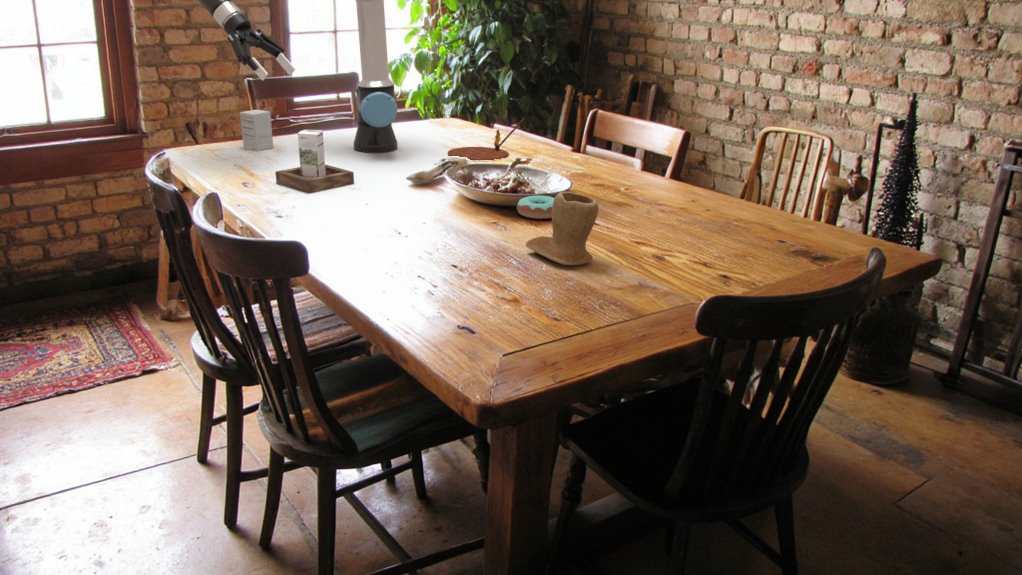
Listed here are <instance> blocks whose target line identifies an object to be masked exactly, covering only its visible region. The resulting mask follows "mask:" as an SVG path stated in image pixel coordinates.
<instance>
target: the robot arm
mask: <svg viewBox="0 0 1022 575" xmlns="http://www.w3.org/2000/svg"><path fill="white" fill-rule="evenodd" d="M198 2H199V3H200V4H201V5H202V6H203V7H204V10H206V12H208V13H209V14H210V15H211V17H213V19H214V20H215V21H216V23H218V25H219V26H220V27H221V28H223V30H224V32H225V33H226V34H227V35H228V36H227V41H228V42H229V43H230V45H231V47H232V50H233V52H234V54H235V57H236V59H237V61H238V62H239V63H241V64H242V65H243V66H246V65H247V66H248V67H249V68H250V69H251V70H252V72H254V74H256V75H257V77H258V78H259V79H260V80H261V81H265V80H266V78H267V77H268V75H269V73H268V72H267V71H266V69H265V68H264V67H263V66H262V64H260V63H259V61H258V60H257V59H256V58H255V57H252V54H251V47H255V48H256V49H261V50H263V51H265V52H266V53H268V54H270V55H272V56H273V57H274V58H275V60H276V61H277V62H278V64H279V65H280V66H281V67H282V69H283V70H284V71H285V72H286V73H287V74H288V75H289V76H291V75H293V73H294V72H295V71H296V68H295V66H294V64H292V63H291V62H290V60H289V59H288V58H287V57H286V56H285V55H284V53H285V48H284V47H283V46H281V45H280V44H278V43H277V42H276V41H275V40H273V39H272V38H271V37H270V36H268V35H267V34H265V33H264V32H263V30H261V29H260V28H258V29H257V30H256V31H254V29H252V28H251V25H252V24H251V21H250V20H249V19H248V17H247V16H245V14H244V13H242V11H241V10H240V8H239V7H238V6H237V5H236V4H235V3H234V2H233V1H232V0H198ZM355 2H356V4H355V6H356V18H357V29H358V41H359V54H360V68H361V80H360V81H358V82H357V83H356V85H355V96H356V113H357V114H356V115H357V116H356V118H357V128H356V129H357V130H356V133H355V137H354V140H353V150H355V151H357V152H360V153H375V154H377V153H388V152H393V151H396V150H397V149H398V140H397V138H396V135H395V134H396V133H395V131H394V129H393V122H394V121H395V119H396V117H397V114H398V105H397V102H396V98H395V97H396V96H395V94H396V93H395V92H396V91H395V83H394V81H392V79H391V78H390V77H389V76H390V75H389V59H388V45H387V30H386V15H385V13H386V12H385V0H355Z"/></svg>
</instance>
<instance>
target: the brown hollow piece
mask: <svg viewBox="0 0 1022 575" xmlns="http://www.w3.org/2000/svg"><path fill="white" fill-rule="evenodd" d="M553 198H554V201H553V206H552V218H551V224H552V226H551V227H552V236H536V237H533V238H531V239H528V240H527V241H526V242H525V247H526V248H528V249H530V250H531V251H533V252H534V253H537V254H539V255H541V256H542V257H545V258H546V259H548V260H550V261H552V262H555V263H558V264H559V265H564V266H580V265H585V264H588V263H589V262H592V260H593V259H594V258H593V255H592V254H591V253H590V252H589V251H588V250H587V249H586V248H587V246H586V245H587V241H588V238H589V236H590V234H591V231H592V230H593V227H594V226H595V223H596V221H597V218H598V215H599V203H598V201H597V200H596V199H595V198H593V197H590V196H588V195H585V194H581V193H576V192H574V191H573V192H572V191H560V192H558V193H557V194H556V195H555V197H553Z"/></svg>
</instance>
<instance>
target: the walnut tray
mask: <svg viewBox="0 0 1022 575" xmlns="http://www.w3.org/2000/svg"><path fill="white" fill-rule="evenodd" d="M325 171H326V176H321V177H316V178H311V179H309V178H305V177H302V176H301V169H300V166H297V167H292V168H287V169H282V170H277V171H274V172H275V173H274V174H275V181H276V182H275V184H277V185H281V186H283V187H286V188H290V189H294V190H297V191H300V192H303V193H307V194H312V192H313V193H317V192H321V190H322V191H327V190H331V189H336V188H340V187H345V186H349V185H350V186H351V185H354V184H355V176H354V173H355V172H354V171H351V170H347V169H344V168H340V167H337V166H334V165H329V164H326V163H325ZM335 187H336V188H335ZM326 189H327V190H326ZM316 191H317V192H316Z"/></svg>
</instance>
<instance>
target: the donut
mask: <svg viewBox="0 0 1022 575" xmlns="http://www.w3.org/2000/svg"><path fill="white" fill-rule="evenodd" d="M554 198H555V197H552V196H549V195H530V196H526V197H522V198H520V199H519V201H518V202H517V205H516V210H517V213H519V215H521V216H523V217H525V218H528V219H533V220H547V219H552V206H553V201H554Z"/></svg>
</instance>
